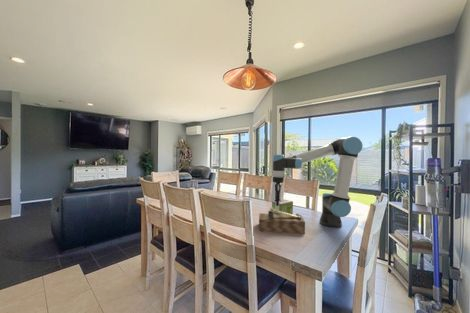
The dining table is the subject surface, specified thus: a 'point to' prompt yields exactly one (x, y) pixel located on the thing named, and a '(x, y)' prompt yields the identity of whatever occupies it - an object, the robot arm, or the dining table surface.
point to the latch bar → (283, 213)
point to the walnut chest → (281, 223)
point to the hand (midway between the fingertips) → (277, 209)
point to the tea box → (284, 206)
